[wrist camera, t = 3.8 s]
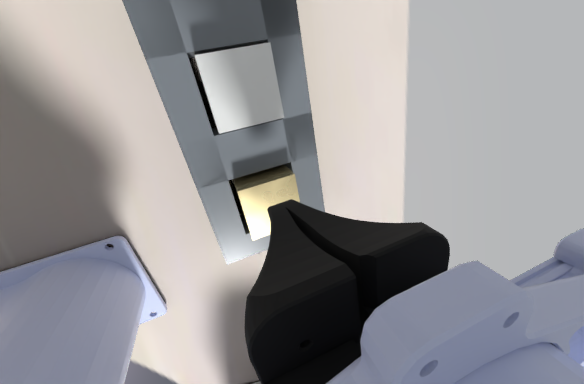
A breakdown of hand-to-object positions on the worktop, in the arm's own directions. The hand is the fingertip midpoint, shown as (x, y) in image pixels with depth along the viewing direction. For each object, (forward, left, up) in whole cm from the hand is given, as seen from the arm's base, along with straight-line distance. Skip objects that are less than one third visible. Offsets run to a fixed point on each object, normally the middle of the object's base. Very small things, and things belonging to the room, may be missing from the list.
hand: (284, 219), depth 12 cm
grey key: (0, +6, -6) cm, 9 cm away
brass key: (0, -1, -6) cm, 6 cm away
